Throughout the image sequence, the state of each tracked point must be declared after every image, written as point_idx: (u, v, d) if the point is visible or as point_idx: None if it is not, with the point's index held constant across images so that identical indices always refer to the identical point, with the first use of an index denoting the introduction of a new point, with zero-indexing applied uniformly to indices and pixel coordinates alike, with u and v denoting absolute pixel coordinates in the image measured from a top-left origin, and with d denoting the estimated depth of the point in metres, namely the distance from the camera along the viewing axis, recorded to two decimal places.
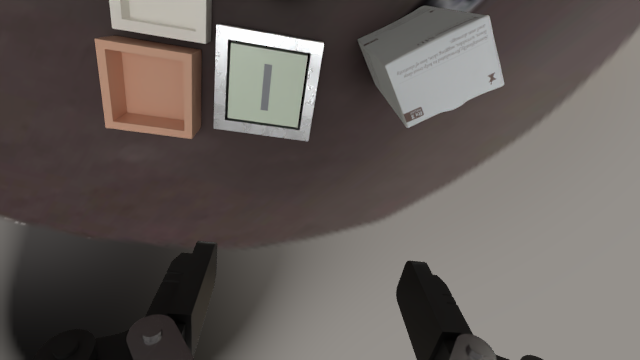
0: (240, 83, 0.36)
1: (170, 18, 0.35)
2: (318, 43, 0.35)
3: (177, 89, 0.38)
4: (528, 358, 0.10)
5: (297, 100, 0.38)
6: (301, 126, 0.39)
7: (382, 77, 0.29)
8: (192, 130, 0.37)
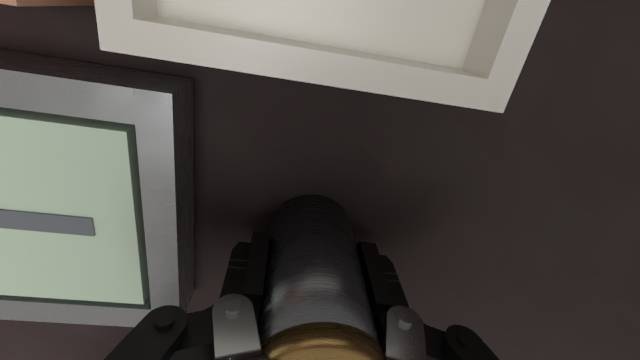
0: (2, 149, 0.11)
1: None
2: None
3: None
4: (451, 329, 0.11)
5: (20, 289, 0.14)
6: None
7: None
8: None
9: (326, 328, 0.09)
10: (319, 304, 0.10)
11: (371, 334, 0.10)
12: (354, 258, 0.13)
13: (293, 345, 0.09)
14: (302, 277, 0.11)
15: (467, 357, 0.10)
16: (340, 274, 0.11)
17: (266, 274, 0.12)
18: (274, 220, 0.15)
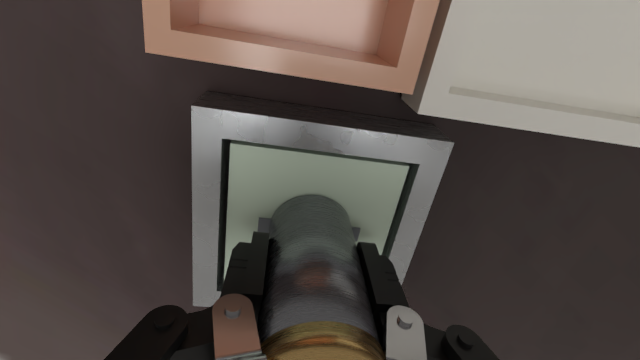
0: (318, 179, 0.15)
1: None
2: None
3: None
4: (451, 329, 0.11)
5: None
6: None
7: None
8: None
9: (326, 327, 0.09)
10: (319, 303, 0.10)
11: (371, 333, 0.10)
12: (354, 257, 0.13)
13: (293, 344, 0.09)
14: (303, 277, 0.11)
15: (467, 357, 0.10)
16: (341, 273, 0.11)
17: (266, 273, 0.12)
18: (274, 219, 0.15)
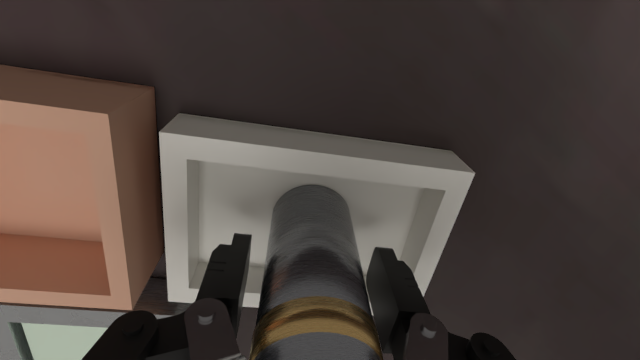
0: None
1: (212, 216, 0.17)
2: None
3: (55, 210, 0.16)
4: (477, 336, 0.11)
5: None
6: None
7: None
8: None
9: (322, 301, 0.10)
10: (316, 281, 0.11)
11: (364, 309, 0.11)
12: (351, 242, 0.14)
13: (291, 316, 0.10)
14: (302, 258, 0.12)
15: None
16: (337, 255, 0.12)
17: (268, 256, 0.13)
18: (277, 208, 0.16)
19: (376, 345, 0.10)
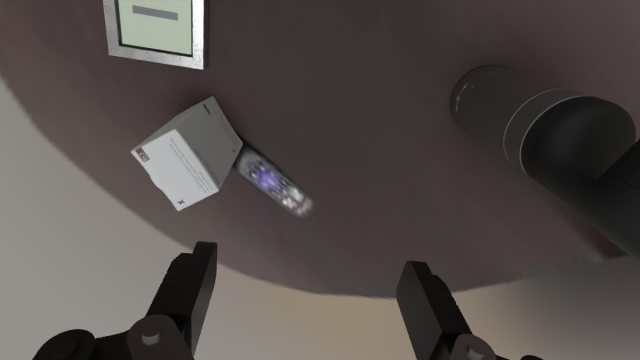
0: None
1: None
2: (202, 64, 0.42)
3: None
4: (528, 358, 0.10)
5: (150, 44, 0.41)
6: (123, 48, 0.40)
7: (172, 125, 0.36)
8: None
9: None
10: None
11: None
12: None
13: None
14: None
15: None
16: None
17: None
18: None
19: None
